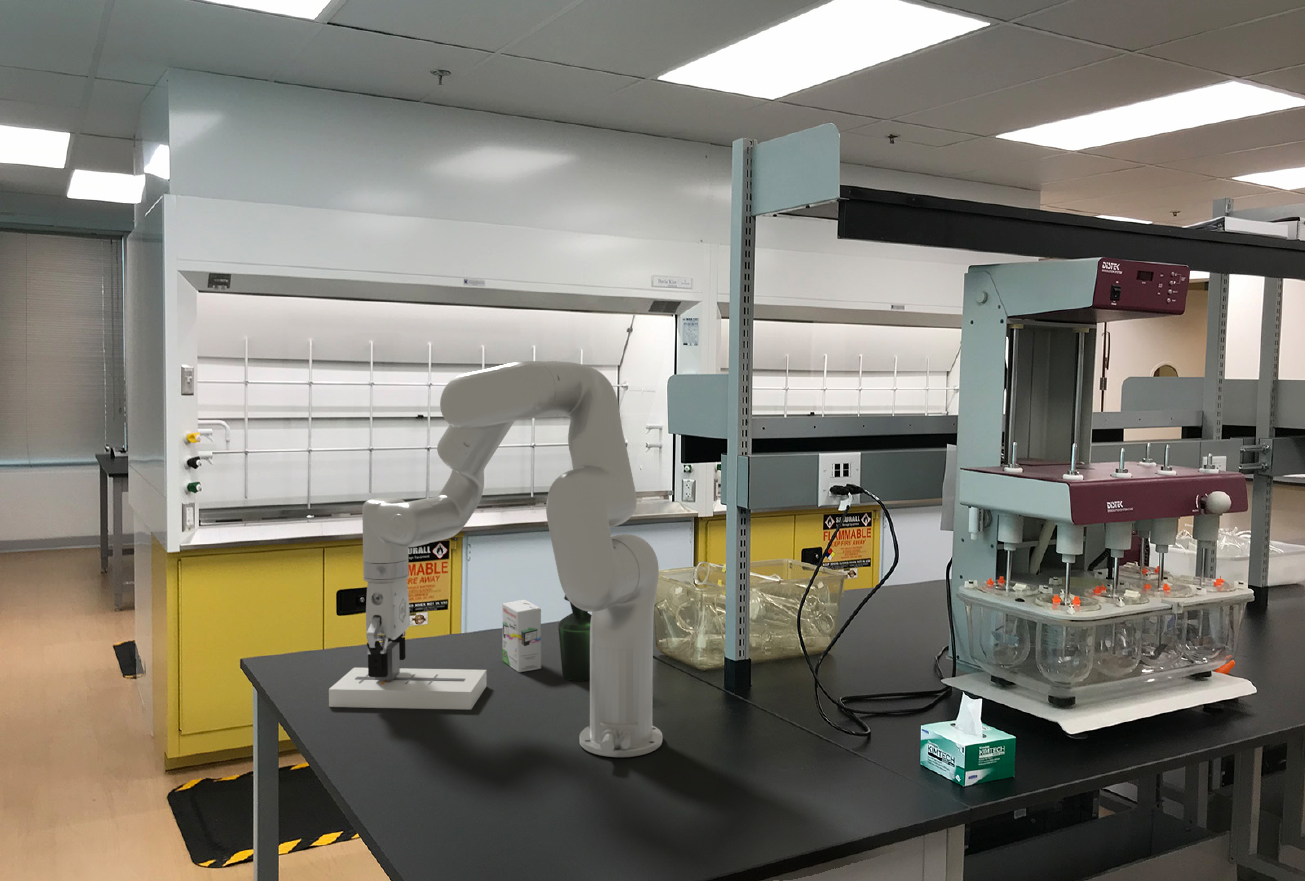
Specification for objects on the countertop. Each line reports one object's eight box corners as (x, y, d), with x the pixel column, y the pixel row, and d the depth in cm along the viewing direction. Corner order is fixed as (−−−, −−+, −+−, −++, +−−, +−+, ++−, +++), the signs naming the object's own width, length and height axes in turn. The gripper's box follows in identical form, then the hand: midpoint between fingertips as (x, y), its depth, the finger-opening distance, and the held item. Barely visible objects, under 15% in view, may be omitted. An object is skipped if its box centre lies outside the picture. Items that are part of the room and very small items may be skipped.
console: (471, 709, 159) (470, 691, 158) (329, 706, 160) (328, 688, 159) (486, 686, 171) (486, 669, 170) (354, 683, 172) (354, 667, 171)
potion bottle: (600, 683, 173) (600, 585, 172) (555, 682, 173) (555, 584, 172) (603, 669, 181) (603, 575, 180) (560, 668, 181) (560, 575, 180)
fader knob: (392, 680, 163) (391, 647, 163) (375, 680, 163) (374, 647, 163) (399, 673, 167) (399, 641, 167) (382, 672, 167) (382, 641, 167)
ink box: (501, 661, 186) (500, 601, 185) (524, 657, 188) (524, 598, 188) (518, 673, 178) (517, 611, 178) (542, 669, 181) (542, 608, 180)
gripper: (391, 581, 155) (393, 684, 156) (421, 560, 172) (423, 653, 173) (346, 580, 155) (348, 683, 156) (380, 560, 173) (382, 653, 174)
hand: (387, 667), depth 165 cm, fingers open, 9 cm apart
